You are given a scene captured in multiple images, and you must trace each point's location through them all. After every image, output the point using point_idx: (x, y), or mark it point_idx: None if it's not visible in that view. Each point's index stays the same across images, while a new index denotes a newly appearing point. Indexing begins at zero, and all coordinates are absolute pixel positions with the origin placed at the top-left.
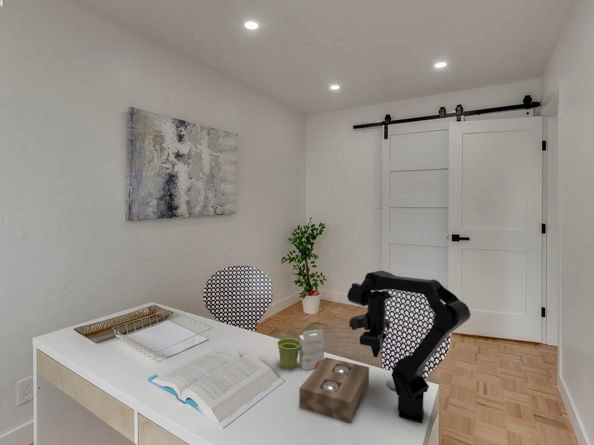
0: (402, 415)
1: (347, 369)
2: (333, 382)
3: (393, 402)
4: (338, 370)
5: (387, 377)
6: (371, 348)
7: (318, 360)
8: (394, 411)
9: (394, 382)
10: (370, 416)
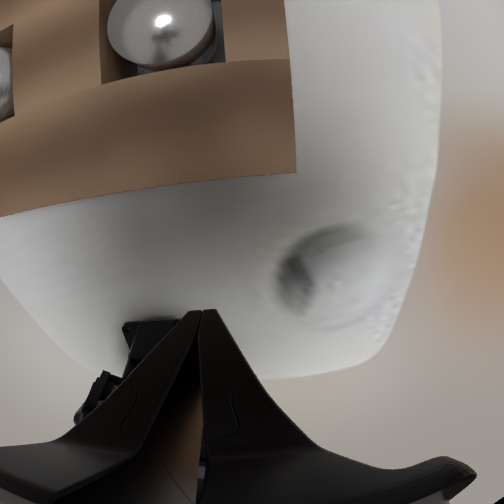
0: (127, 335)
1: (175, 47)
2: (2, 76)
3: (192, 291)
4: (129, 9)
5: (378, 220)
6: (132, 371)
7: None
8: (141, 305)
9: (86, 399)
10: (61, 244)
